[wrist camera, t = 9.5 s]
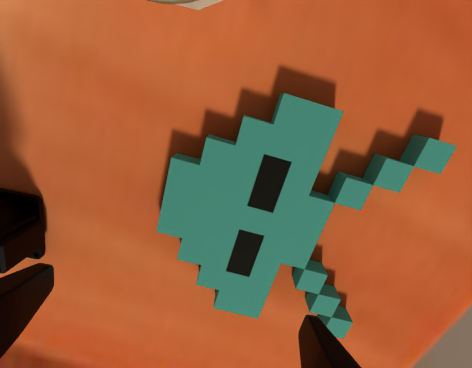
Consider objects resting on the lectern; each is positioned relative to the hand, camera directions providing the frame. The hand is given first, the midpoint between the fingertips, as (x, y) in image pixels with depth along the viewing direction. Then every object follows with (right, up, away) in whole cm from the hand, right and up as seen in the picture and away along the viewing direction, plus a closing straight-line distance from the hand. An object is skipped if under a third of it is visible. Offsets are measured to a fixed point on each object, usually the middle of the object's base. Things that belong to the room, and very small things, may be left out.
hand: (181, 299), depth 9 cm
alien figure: (+6, +1, +14) cm, 15 cm away
